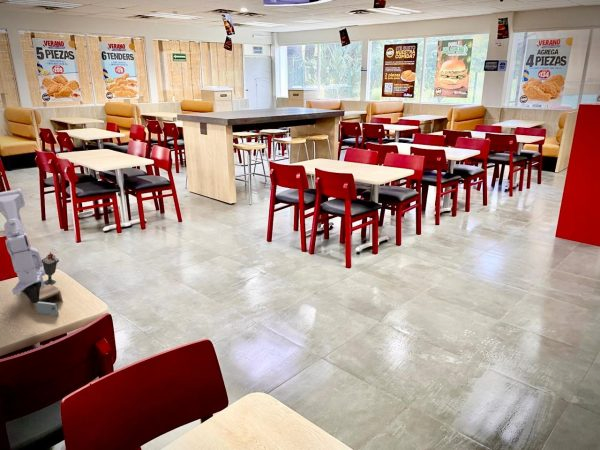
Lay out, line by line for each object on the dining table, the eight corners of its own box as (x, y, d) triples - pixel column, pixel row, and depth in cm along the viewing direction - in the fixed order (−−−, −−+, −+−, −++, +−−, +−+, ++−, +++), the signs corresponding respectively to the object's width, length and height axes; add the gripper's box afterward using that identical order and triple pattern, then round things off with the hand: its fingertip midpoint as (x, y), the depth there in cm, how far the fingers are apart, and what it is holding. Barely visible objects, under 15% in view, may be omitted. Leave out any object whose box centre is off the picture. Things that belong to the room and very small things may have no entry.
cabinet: (29, 304, 176) (25, 293, 174) (52, 294, 183) (49, 283, 181) (39, 312, 171) (35, 300, 169) (62, 301, 177) (59, 290, 175)
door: (39, 311, 170) (36, 301, 169) (59, 314, 168) (56, 303, 167) (36, 314, 169) (33, 303, 167) (56, 316, 167) (53, 305, 165)
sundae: (48, 287, 188) (48, 254, 184) (37, 282, 190) (37, 249, 186) (62, 282, 194) (62, 250, 190) (51, 277, 196) (51, 245, 192)
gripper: (21, 278, 150) (32, 313, 155) (49, 259, 163) (58, 291, 169) (2, 278, 151) (13, 312, 156) (31, 258, 164) (40, 291, 169)
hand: (35, 301), depth 162 cm, fingers closed
